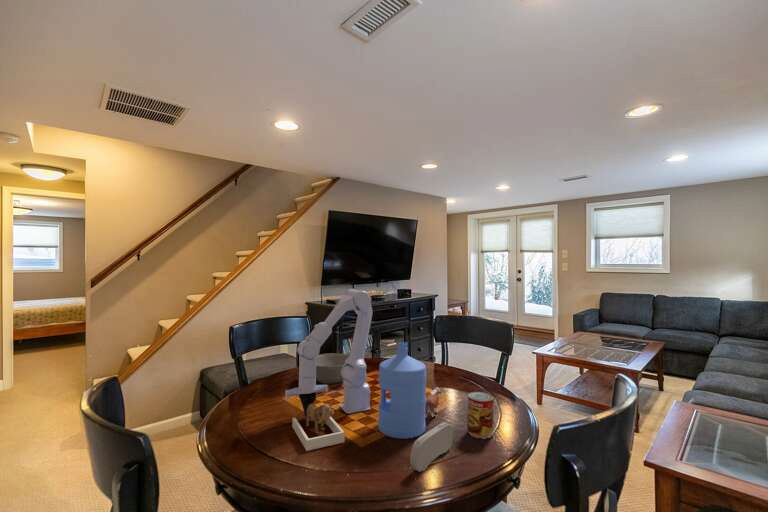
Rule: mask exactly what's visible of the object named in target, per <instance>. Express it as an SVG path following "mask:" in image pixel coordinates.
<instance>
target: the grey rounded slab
mask: <svg viewBox="0 0 768 512" xmlns="http://www.w3.org/2000/svg"><path fill="white" fill-rule="evenodd" d="M453 439H454V430H453V427H452V425H450V424H449V423H448V422H444V421H443V422H441V423H439V424H438V425H436V426H435V427H433V428H432V429H430V430H428V431H427V432H426V433H423V434H421V435H420V436H418V437H417V439H416V440H415V441H414V443H413V445H412V447H411V450H410V455H409V463H410V467H412V469H413V470H414V471H417V472H420V473H421V471H423V470H424V469H425V468H426V467H427V466H428V467H429V465H430V463H431V462H432V461H434V460H435V459H437V457H439V456H440V455H444V454H443V453H444V452H445V451H447V450H448V449H449V448H450V449H451V447H452V443H453ZM450 449H449V450H450ZM428 467H427V468H428ZM427 468H426V469H427ZM426 469H425V470H426ZM425 470H424V471H425ZM424 471H423V472H424Z"/></svg>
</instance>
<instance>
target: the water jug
mask: <svg viewBox="0 0 768 512" xmlns="http://www.w3.org/2000/svg"><path fill="white" fill-rule="evenodd" d="M397 344H398V348H397V350H398V352H397V355H395V356H392V357H391V358H387V359H385V360H382V361H381V362H380V363H379V369H378V386H379V387H380V402H379V404H378V419H377V426H378V427H377V428H378V431H379V432H380V433H382V434H383V436H384V435H385V436H387V437H388V438H389V437H390V438H392V439H400V440H408V439H409V438H410V439H414V437H415V438H418V437H420V436H422V435H423V434H424V432H425V431H426V419H425V405H426V399H427V395H426V394H427V392H426V390H427V389H426V388H427V385H426V384H427V383H426V382H427V366H426V365H425V363H424V362H422V361H420V360H418V359H416V358H414V357H412V356H409V354H408V349H409V348H408V342H405V341H401V342H398V343H397ZM387 392H388V393H389V395H390V398H389V399H386V398H387ZM419 435H420V436H419ZM417 436H418V437H417Z"/></svg>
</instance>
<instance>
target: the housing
mask: <svg viewBox="0 0 768 512" xmlns="http://www.w3.org/2000/svg"><path fill="white" fill-rule="evenodd" d="M324 424H326V425H327V426H328V428H329V429H330V430H331V431H332V433H329V434H324V435H320V436H315V437H310V438H309V437H308V435H307V434H306V432H305V431H304V429H303V427H302V426H301V424H300V423H299V421H298V419H297V418H296V417H292V429H293V430H294V432H295V434H296V435H297V437H298V440H300V443H301V444H302V446H303V448H304V449H305V451H306V452H308V451H312V450H317V449H321V448H325V447H330V446H334V445H339V444H343V443H345V439H346V438H345V433H346V432H345V431H344V430H343V429H342V428H341V426H340V425H339V424H338V423H337V421H336V420H334V418H333V416H330V418H329V420H327V421H326V422H325V423H324Z"/></svg>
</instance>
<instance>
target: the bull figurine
mask: <svg viewBox="0 0 768 512" xmlns="http://www.w3.org/2000/svg"><path fill="white" fill-rule="evenodd" d="M442 395H443V393H442V391H441V389H440V388H439V387H435V388H434V387H432V388H431V392H430V393H429V394H428V396H426V405H425V418H427V419H428V413H430V416H431V417H432V418H433V417H434V416H435V411H437V412H438V410H437V409H438V405H439V401H440V400H439V399H440V398H439V396H442ZM435 417H436V416H435Z"/></svg>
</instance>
